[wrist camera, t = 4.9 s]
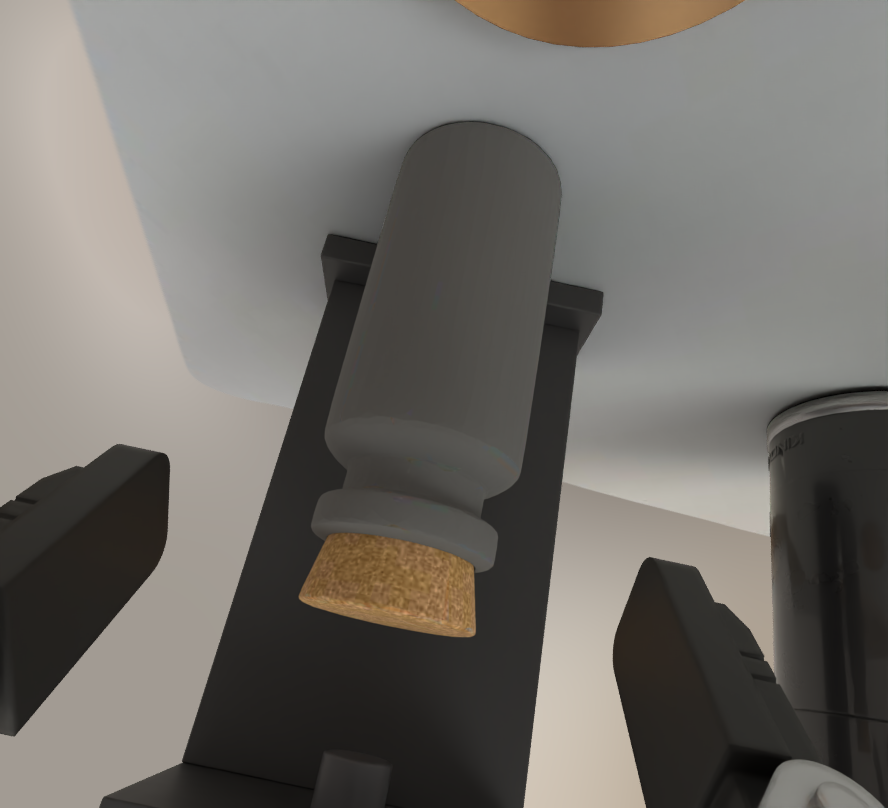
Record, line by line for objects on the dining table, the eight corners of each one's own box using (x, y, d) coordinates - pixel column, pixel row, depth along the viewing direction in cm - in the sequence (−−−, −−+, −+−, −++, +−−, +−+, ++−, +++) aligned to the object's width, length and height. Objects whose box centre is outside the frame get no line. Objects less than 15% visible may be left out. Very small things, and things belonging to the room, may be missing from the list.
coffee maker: (315, 143, 22) (-182, 1478, 10) (649, 213, 22) (546, 1630, 10) (339, 323, 33) (118, 1053, 21) (559, 370, 33) (461, 1124, 21)
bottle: (370, 141, 21) (227, 583, 15) (533, 99, 19) (436, 615, 13) (443, 250, 26) (354, 623, 20) (581, 228, 23) (527, 652, 17)
